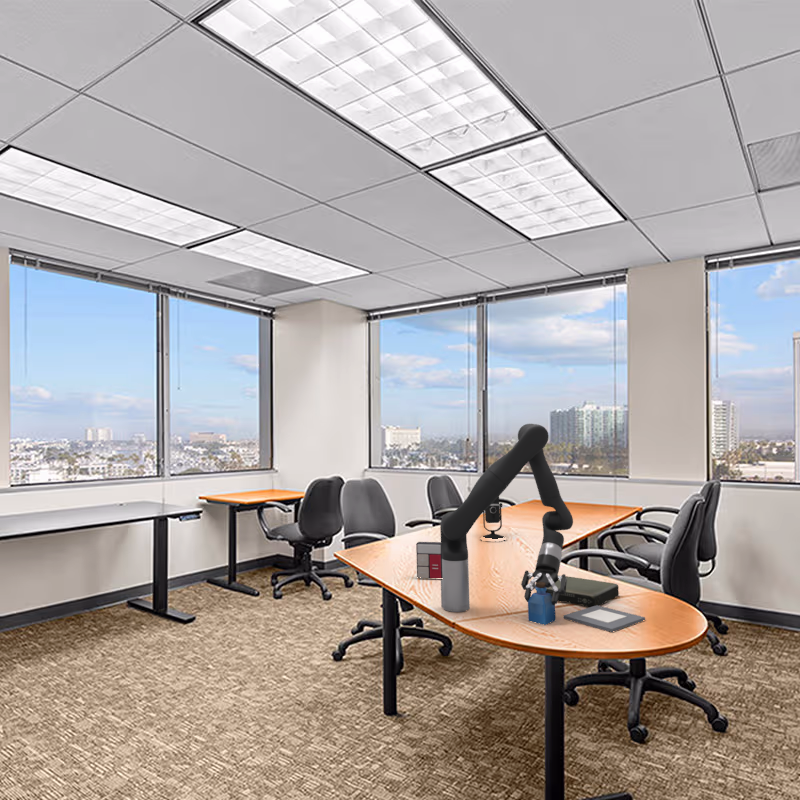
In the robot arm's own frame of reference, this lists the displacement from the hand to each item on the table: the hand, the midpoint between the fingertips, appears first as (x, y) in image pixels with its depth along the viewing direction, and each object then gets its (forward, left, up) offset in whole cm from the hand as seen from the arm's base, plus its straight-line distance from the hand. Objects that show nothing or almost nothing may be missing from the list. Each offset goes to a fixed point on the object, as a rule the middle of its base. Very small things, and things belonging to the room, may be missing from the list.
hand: (540, 602), depth 192 cm
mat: (+11, +17, -6) cm, 22 cm away
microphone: (-117, +96, -6) cm, 151 cm away
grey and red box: (-69, +10, -6) cm, 70 cm away
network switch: (-10, +33, -7) cm, 35 cm away
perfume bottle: (-1, +1, -6) cm, 7 cm away
